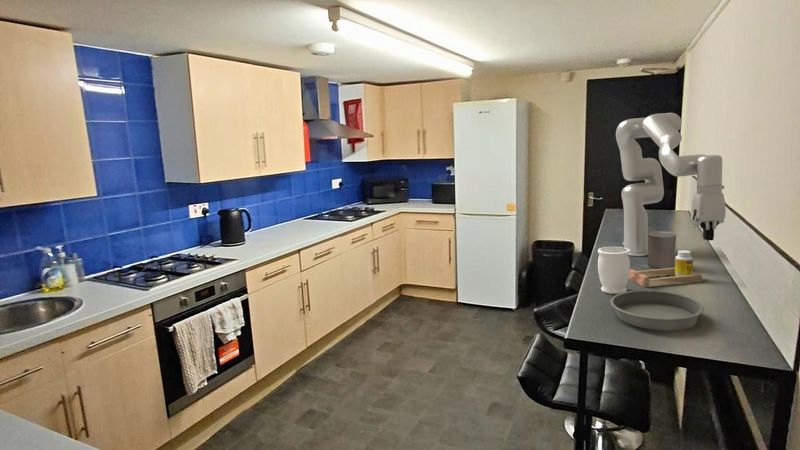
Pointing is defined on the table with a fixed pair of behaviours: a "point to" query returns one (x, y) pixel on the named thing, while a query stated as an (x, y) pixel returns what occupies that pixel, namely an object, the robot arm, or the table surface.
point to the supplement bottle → (683, 263)
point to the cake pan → (657, 309)
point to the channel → (644, 275)
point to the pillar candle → (661, 249)
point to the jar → (613, 269)
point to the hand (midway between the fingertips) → (708, 239)
